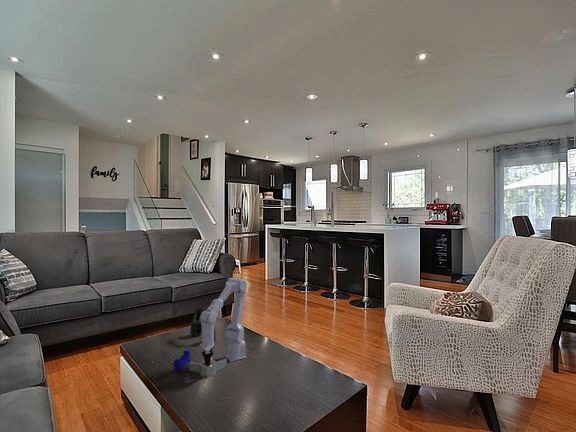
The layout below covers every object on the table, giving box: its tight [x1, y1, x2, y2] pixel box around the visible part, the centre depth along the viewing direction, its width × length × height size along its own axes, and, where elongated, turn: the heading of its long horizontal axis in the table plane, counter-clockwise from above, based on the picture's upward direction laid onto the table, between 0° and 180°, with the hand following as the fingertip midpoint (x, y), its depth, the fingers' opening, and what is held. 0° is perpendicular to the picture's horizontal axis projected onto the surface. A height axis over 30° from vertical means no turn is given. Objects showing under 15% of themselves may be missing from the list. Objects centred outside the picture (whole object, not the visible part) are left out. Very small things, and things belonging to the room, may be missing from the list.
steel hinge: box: [189, 358, 228, 378], centre depth 159 cm, size 18×12×5 cm
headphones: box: [189, 307, 217, 342], centre depth 200 cm, size 22×6×20 cm, turn 48°
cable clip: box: [173, 349, 191, 373], centre depth 163 cm, size 12×4×6 cm, turn 173°
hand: (208, 361), depth 156 cm, fingers open, 7 cm apart
